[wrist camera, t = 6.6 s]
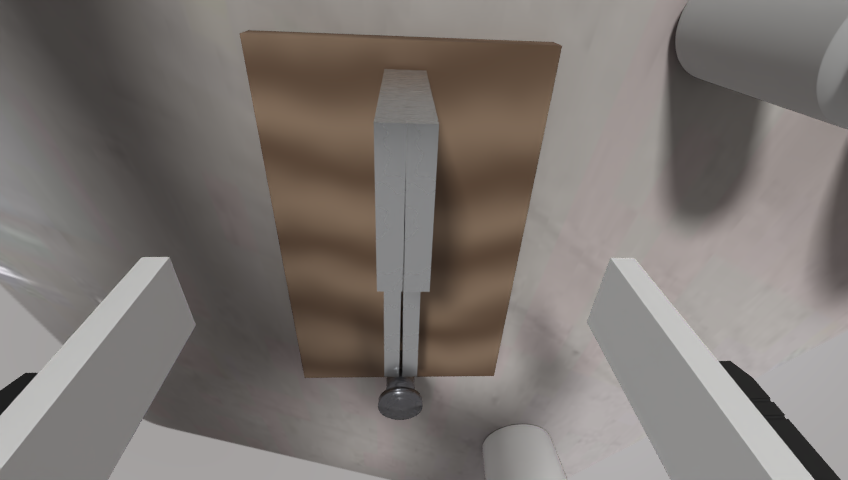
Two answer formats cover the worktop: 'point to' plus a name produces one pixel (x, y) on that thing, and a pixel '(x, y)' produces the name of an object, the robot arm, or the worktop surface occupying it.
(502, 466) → the candle holder
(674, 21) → the worktop surface
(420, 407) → the tongs hinge post
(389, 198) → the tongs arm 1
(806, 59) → the beverage can
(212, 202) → the worktop surface
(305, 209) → the walnut board
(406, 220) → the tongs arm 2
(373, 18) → the worktop surface
